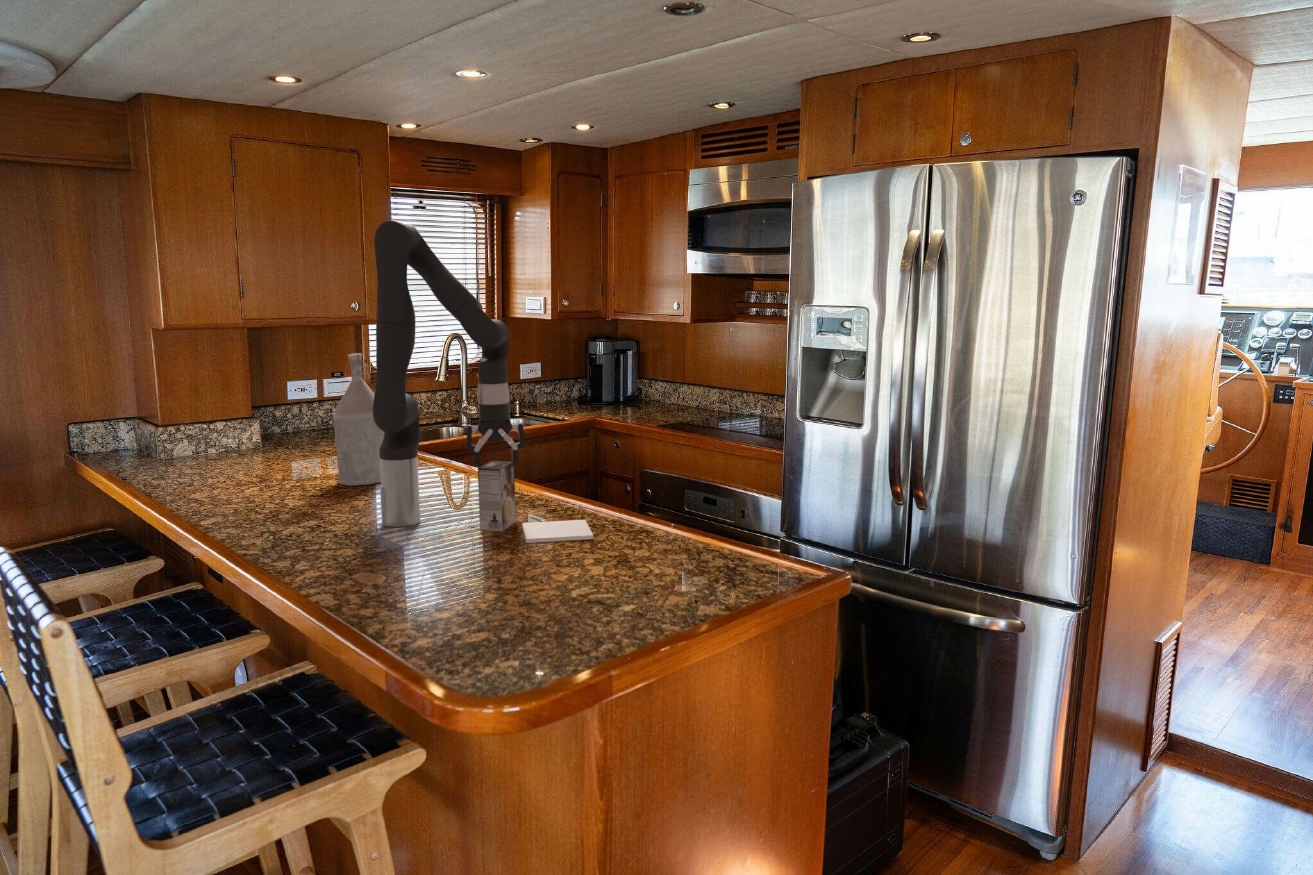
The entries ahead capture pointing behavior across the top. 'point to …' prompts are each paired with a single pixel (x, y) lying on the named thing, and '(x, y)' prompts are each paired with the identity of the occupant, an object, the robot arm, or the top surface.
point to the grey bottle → (357, 431)
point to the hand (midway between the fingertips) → (496, 465)
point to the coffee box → (496, 495)
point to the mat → (556, 531)
